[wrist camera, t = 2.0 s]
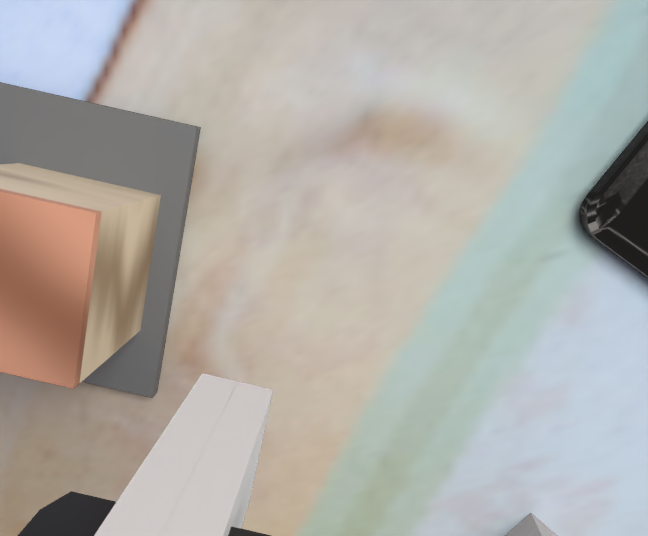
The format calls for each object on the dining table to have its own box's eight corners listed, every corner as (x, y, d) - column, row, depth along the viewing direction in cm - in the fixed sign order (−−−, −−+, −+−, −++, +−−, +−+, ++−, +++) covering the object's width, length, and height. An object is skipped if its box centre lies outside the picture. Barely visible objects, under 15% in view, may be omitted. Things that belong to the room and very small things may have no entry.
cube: (140, 330, 25) (73, 388, 19) (6, 299, 25) (-102, 348, 19) (160, 195, 24) (95, 213, 18) (19, 163, 24) (-93, 170, 18)
